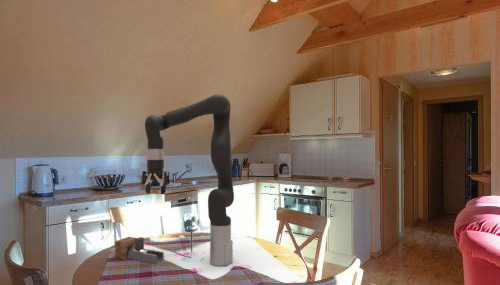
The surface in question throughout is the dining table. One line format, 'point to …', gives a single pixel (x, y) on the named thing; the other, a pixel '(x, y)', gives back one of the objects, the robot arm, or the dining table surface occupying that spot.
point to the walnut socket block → (123, 247)
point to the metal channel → (146, 256)
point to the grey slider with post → (138, 246)
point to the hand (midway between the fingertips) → (155, 193)
